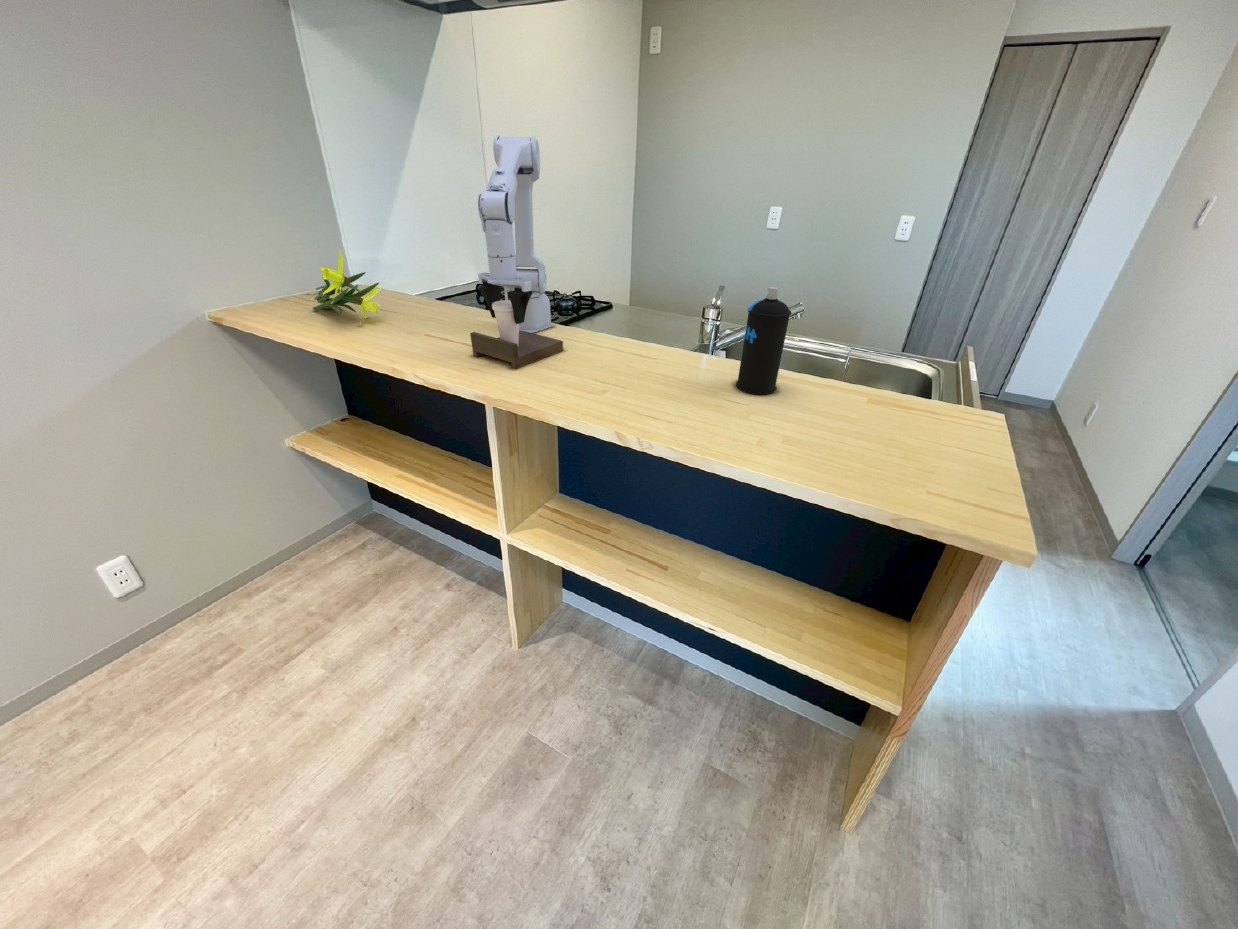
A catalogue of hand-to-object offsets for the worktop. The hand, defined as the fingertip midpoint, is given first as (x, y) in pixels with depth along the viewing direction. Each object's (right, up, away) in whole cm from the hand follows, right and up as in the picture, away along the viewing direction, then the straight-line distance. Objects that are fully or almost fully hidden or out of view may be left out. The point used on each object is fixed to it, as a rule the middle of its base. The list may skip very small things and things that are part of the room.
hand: (507, 319), depth 111 cm
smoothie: (0, -5, +3) cm, 6 cm away
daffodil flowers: (-54, +9, +29) cm, 62 cm away
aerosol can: (+54, -17, -9) cm, 57 cm away
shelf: (+1, -6, +6) cm, 9 cm away
